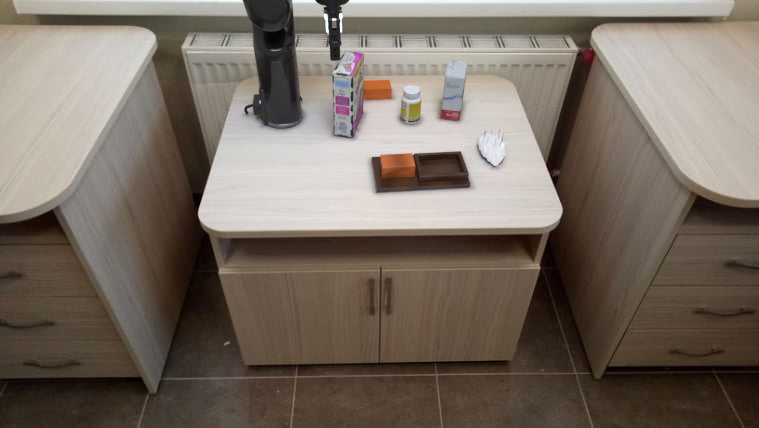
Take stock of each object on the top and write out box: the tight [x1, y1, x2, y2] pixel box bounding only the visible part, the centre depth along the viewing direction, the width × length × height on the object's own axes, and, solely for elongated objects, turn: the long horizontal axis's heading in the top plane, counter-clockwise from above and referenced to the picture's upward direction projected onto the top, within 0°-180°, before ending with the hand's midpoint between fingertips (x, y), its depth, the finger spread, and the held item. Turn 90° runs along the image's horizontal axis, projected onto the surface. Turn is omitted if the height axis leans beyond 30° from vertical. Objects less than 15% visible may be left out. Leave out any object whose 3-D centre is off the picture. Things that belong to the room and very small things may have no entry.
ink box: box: [440, 59, 468, 121], centre depth 133 cm, size 9×5×12 cm, turn 168°
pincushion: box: [477, 129, 507, 167], centre depth 123 cm, size 12×6×6 cm, turn 1°
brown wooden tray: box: [371, 150, 471, 194], centre depth 117 cm, size 20×11×4 cm, turn 96°
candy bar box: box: [331, 50, 365, 139], centre depth 126 cm, size 11×5×16 cm, turn 168°
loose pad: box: [363, 79, 392, 101], centre depth 141 cm, size 7×4×3 cm, turn 96°
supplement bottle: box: [400, 84, 422, 125], centre depth 131 cm, size 5×5×8 cm
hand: (334, 50), depth 122 cm, fingers open, 8 cm apart
